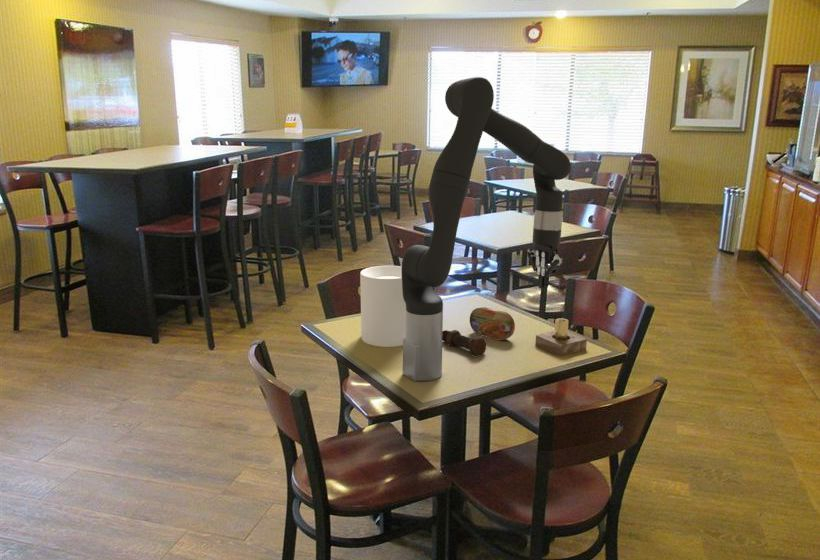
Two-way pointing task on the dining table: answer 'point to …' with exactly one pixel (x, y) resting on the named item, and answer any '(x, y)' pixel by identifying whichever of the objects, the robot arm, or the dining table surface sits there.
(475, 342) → the dark brown lumpy piece
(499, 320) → the tin
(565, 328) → the bushing
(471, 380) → the dining table surface
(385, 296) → the canister
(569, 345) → the block
